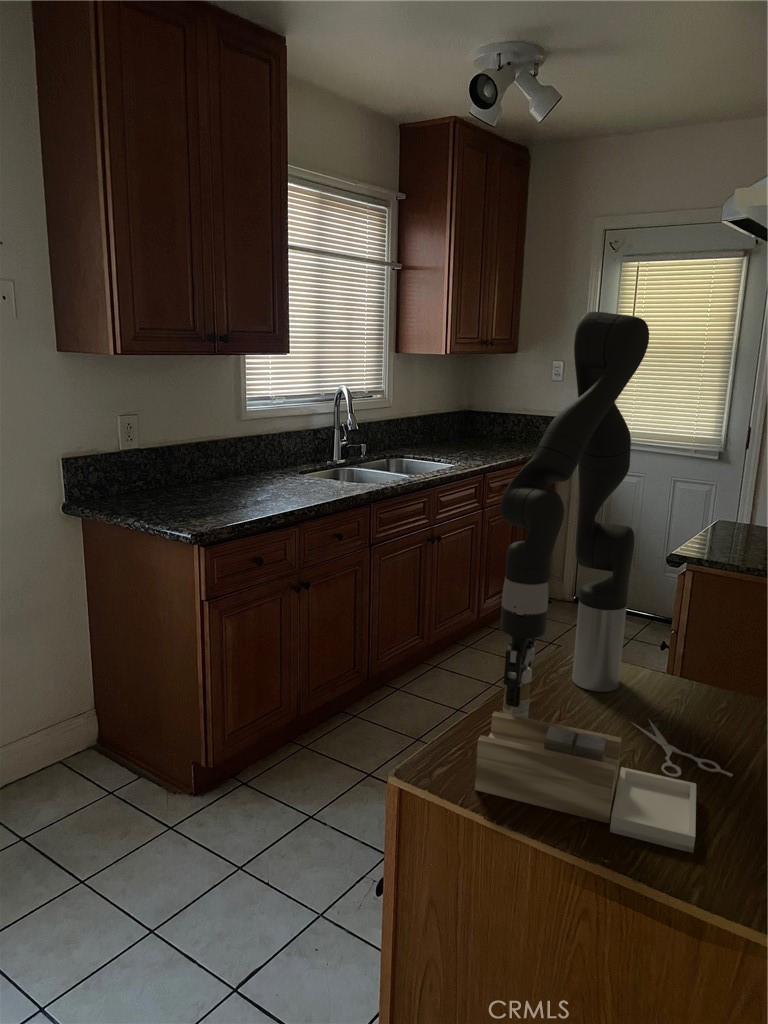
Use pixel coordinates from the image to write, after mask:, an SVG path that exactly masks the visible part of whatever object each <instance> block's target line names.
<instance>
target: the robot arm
mask: <svg viewBox="0 0 768 1024" xmlns="http://www.w3.org/2000/svg"><path fill="white" fill-rule="evenodd" d="M649 341H650V329H649V324H648V323H647V322H646V321H645V320H644V319H643V318H641V317H638V316H633V315H628V314H618V313H609V312H604V311H603V312H602V311H589V312H587V313H585V314H584V315H582V317H581V318H580V320H579V321H578V324H577V327H576V330H575V333H574V342H573V346H574V347H573V349H574V350H573V353H574V354H573V355H574V366H575V367H574V368H575V375H576V377H575V378H576V387H577V398H576V399H575V400H573V401H572V402H571V403H569V404H568V405H567V406H566V407H564V408H563V409H562V410H561V411H560V412H559V413H557V415H555V416H554V418H553V419H552V420H551V422H550V423H549V424H548V426H547V428H546V430H545V432H544V434H543V435H542V438H541V440H540V442H539V443H538V446H537V447H536V450H535V452H534V454H533V456H532V457H531V458H530V459H529V460H528V461H527V462H526V463H525V464H524V466H522V468H521V469H520V470H519V472H518V473H517V474H516V475H515V476H514V477H513V478H512V480H511V481H510V482H509V483H508V485H507V486H506V487H505V489H504V491H503V494H502V496H501V499H500V504H499V505H500V506H499V507H500V515H501V516H502V518H503V520H504V521H505V522H506V523H508V524H510V525H512V526H515V527H517V528H518V527H519V528H523V529H526V530H528V531H527V535H526V538H525V540H520V541H515V542H512V543H511V544H510V545H509V546H508V548H507V550H506V559H505V561H506V562H505V574H504V575H505V576H504V583H503V588H502V596H501V613H500V629H501V631H502V633H504V634H505V635H508V636H510V637H511V640H510V642H508V644H507V648H506V651H505V658H504V659H505V660H504V674H503V685H504V686H505V685H507V694H506V704H507V705H508V706H513V707H518V706H519V705H520V696H521V685H522V679H523V675H524V674H525V673H527V669H528V667H530V668H531V669H532V667H533V664H534V659H535V658H536V656H537V655H536V647H537V638H541V637H542V636H544V635H545V634H546V631H547V620H548V619H547V618H548V611H549V610H548V609H549V606H548V605H549V596H550V595H549V578H550V577H549V576H550V564H551V563H550V562H551V561H550V560H551V559H550V558H551V556H552V553H553V550H554V548H555V544H556V542H557V539H558V537H559V534H560V531H561V528H562V525H563V522H564V518H565V506H564V502H563V499H562V497H561V495H560V494H559V493H557V492H556V491H554V490H552V489H548V487H550V485H552V484H555V483H563V482H566V481H569V479H571V477H572V476H573V474H574V472H575V470H576V468H577V467H578V469H577V470H578V471H577V472H578V473H577V474H578V509H577V522H576V535H575V559H576V562H577V563H578V565H579V566H580V567H583V568H586V569H591V570H592V569H593V570H599V571H604V572H605V571H606V572H611V573H612V576H609V577H607V578H605V579H602V580H601V579H600V580H596V581H592V582H588V583H584V584H583V585H582V586H581V587H580V589H579V593H578V594H579V595H578V608H577V621H576V629H575V630H576V631H575V642H574V654H573V665H572V677H571V679H572V682H573V683H574V685H576V686H577V687H579V688H582V689H585V690H587V691H591V692H599V693H600V692H601V693H602V692H604V693H605V692H612V691H615V690H617V689H618V688H619V685H620V676H621V666H622V656H623V648H624V646H623V644H624V637H625V626H626V615H627V608H628V607H627V605H628V593H629V586H630V585H629V584H630V575H631V570H632V565H633V564H632V563H633V557H634V553H635V552H634V550H635V541H636V539H635V533H634V532H635V531H634V530H633V528H632V527H630V526H627V525H622V524H620V525H619V524H612V523H611V524H610V523H603V522H597V521H596V517H597V514H598V512H599V510H600V509H601V508H602V506H603V505H604V503H605V501H607V499H608V498H609V497H610V496H611V495H612V493H614V492H615V490H617V488H618V487H619V486H620V485H621V483H622V482H623V481H624V480H625V478H626V477H627V475H628V473H629V471H630V465H631V452H632V451H631V447H632V437H631V432H630V429H629V426H628V425H627V422H626V420H625V418H624V416H623V415H622V412H621V411H620V409H619V407H618V406H617V404H616V401H617V399H618V398H619V396H620V395H621V393H622V392H623V391H624V389H625V388H626V386H627V385H628V383H629V382H630V381H631V379H632V377H633V376H634V374H635V373H636V372H637V370H638V368H639V367H640V365H641V363H642V361H643V360H644V358H645V356H646V352H647V350H648V347H649ZM521 665H522V667H521ZM512 672H513V673H516V678H511V673H512Z"/></svg>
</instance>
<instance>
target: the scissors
mask: <svg viewBox="0 0 768 1024" xmlns="http://www.w3.org/2000/svg"><path fill="white" fill-rule="evenodd" d="M647 719H648V721H649V724H650V726H651V728H652V730H653V732H654V734H655V735H653V734H652V733H651V732H649V731H647V730H646V729H643V728H642V727H640V726H639V725H637V724H635V723H634V722H632V721H631V720H630V721H629V722H630V723H631V724H632V725H634V726H635V727H636V728H638V729H639V730H640V731H641V732H643V734H645V735H646V736H648V738H650V739H652V741H654V742H656V744H659V745H660V746H661V747H662V750H664V752H665V754H666V756H665V757H664V759H665V761H666V762H665V763H663V764H662V766H661V772H662V773H663V774H665V775H667V776H668V777H671V778H679V777H680V776H681V775H682V769H681V767H680V766H679V765H676V764H674V763H672V761H671V760H670V757H671V755H672V753H675V754H678V755H681V756H685V757H688V758H690V759H692V760H693V761H695V762H696V763H697V767H698V768H700V769H702V770H705V771H708V772H711V773H721V774H723V775H726V776H728V777H730V778H731V777H733V776H734V774H733V773H731V772H729V771H726V770H723V769H721V767H720V765H719V764H718V763H716V762H715V761H713V760H710V759H705V758H699V757H697V756H696V757H695V756H694V755H692V754H690V753H686V752H683V751H681V750H680V749H678V748H677V747H675V746H673V745H671V744H669V743H668V742H667V740H666V739H665V737H664V736H663V735H662V734H661V732H660V731H659V730H658V728H657V727H656V726H655V724H653V722H652V721H651V720H650V719H649V718H647ZM702 763H707V764H710V765H713V767H715V768H709V767H706V766H704V764H702ZM666 767H671V768H674V769H675V771H676V772H677V773H670V772H668V771H666V770H665V768H666Z"/></svg>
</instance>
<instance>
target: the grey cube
mask: <svg viewBox="0 0 768 1024" xmlns="http://www.w3.org/2000/svg"><path fill="white" fill-rule="evenodd" d="M575 739H576V732H575V731H571V730H566V729H561V728H556V727H552V726H550V727H549V729H548V732H547V734H546V737H545V744H544V749H545V750H550V751H554V752H559V753H563V754H568V755H572V756H574V750H575Z"/></svg>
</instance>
